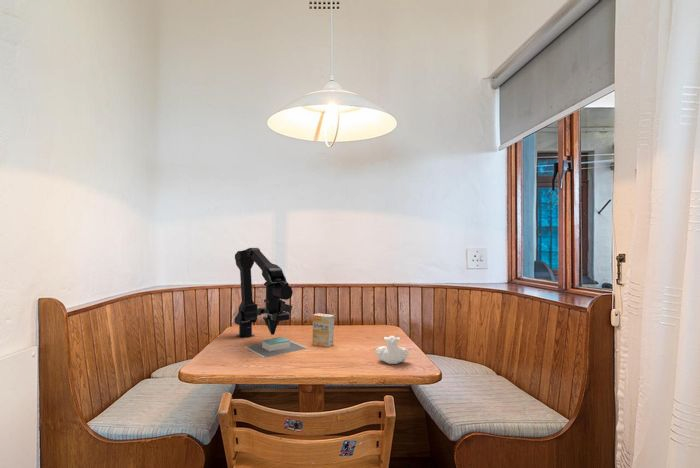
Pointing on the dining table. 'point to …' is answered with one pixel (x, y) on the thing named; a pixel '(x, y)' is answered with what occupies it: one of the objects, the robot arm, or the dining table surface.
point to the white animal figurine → (392, 351)
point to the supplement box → (323, 330)
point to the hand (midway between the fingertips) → (272, 334)
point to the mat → (266, 353)
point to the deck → (276, 344)
